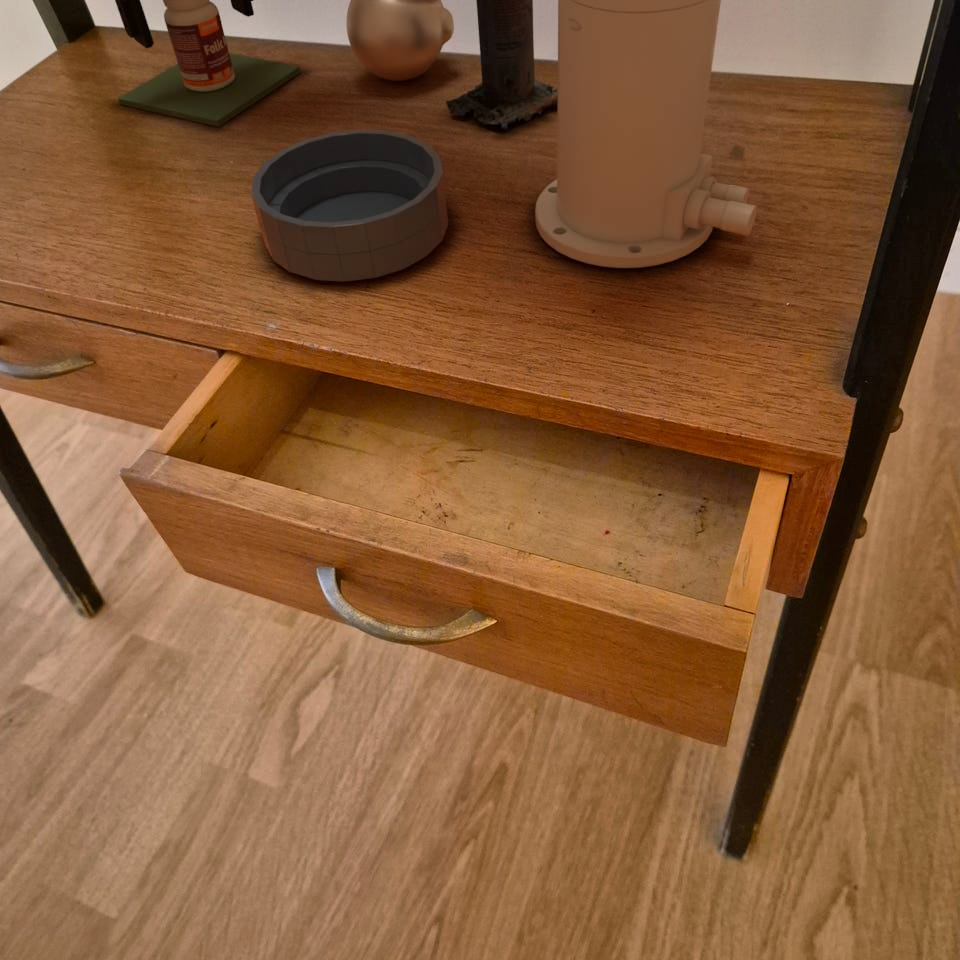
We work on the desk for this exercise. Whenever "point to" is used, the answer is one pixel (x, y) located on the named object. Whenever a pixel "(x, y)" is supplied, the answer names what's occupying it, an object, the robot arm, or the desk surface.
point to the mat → (216, 105)
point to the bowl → (351, 204)
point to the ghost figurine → (398, 35)
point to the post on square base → (505, 67)
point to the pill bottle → (199, 44)
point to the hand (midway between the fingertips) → (195, 27)
